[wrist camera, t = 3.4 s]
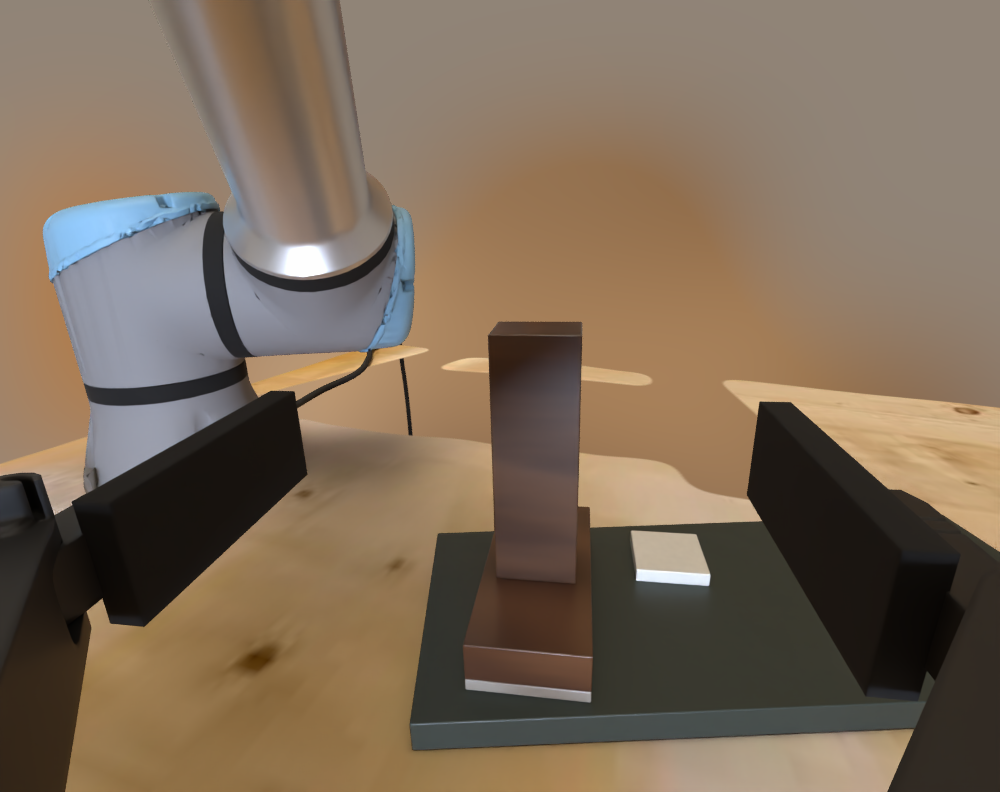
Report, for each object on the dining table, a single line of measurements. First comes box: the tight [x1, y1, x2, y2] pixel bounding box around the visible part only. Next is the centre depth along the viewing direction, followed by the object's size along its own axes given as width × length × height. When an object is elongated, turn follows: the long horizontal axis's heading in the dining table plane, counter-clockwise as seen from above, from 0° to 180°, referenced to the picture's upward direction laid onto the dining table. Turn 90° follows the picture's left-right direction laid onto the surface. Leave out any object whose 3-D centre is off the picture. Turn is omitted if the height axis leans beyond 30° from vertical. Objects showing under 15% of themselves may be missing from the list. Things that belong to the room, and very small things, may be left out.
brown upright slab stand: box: [463, 322, 593, 703], centre depth 26 cm, size 12×6×15 cm, turn 172°
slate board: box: [410, 515, 1000, 750], centre depth 29 cm, size 14×34×2 cm, turn 92°
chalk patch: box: [630, 531, 711, 586], centre depth 31 cm, size 4×4×1 cm
